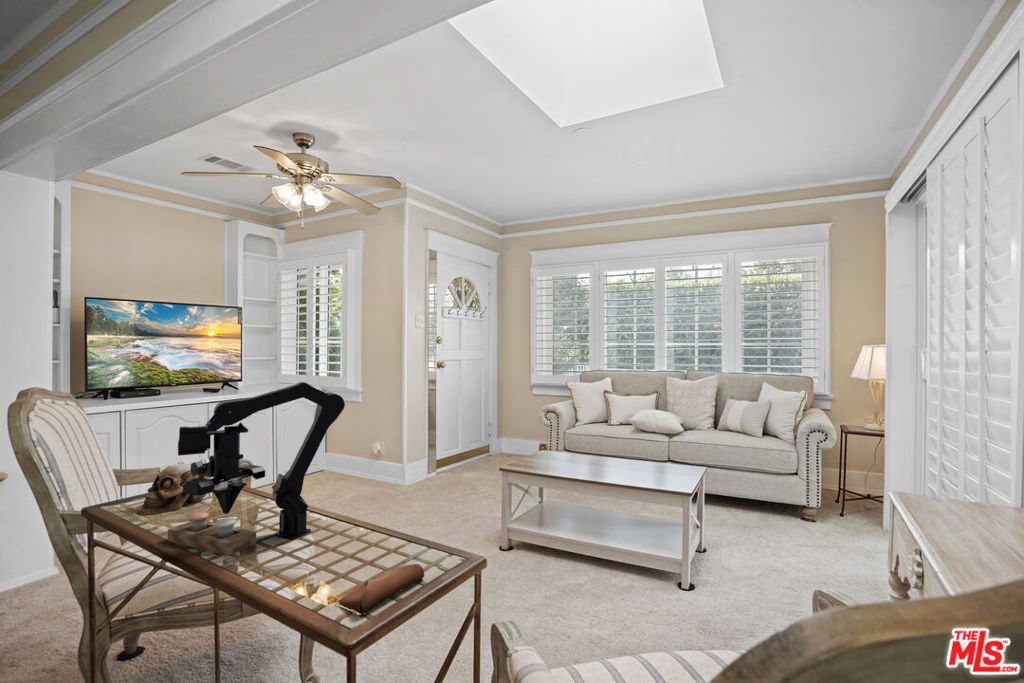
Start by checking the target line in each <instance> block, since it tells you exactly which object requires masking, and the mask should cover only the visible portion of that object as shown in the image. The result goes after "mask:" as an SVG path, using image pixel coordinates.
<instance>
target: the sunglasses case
mask: <svg viewBox="0 0 1024 683" xmlns="http://www.w3.org/2000/svg"><path fill="white" fill-rule="evenodd" d="M423 577H424V578H425V570H424V568H423V566H422V565H420V564H419V563H414V564H413V563H411V564H405V565H401V566H397V567H395V568H391V569H389V570H387V571H385V572H382V573H380V574H377V575H374V576H373V577H371V578H370V579H367V580H366V582H365V583H363V584H362V585H361V586H357V587H356V588H355V589H353V590H352V591H351V592H349V593H347V594H346V595H344V596H343V597H340V599H339V600H337V602H339V603H340V604H341V605H343V606H344V607H347V608H349V609H353V610H355V611H357V612H359V613H361V614H362V616H363V614H364V613H366V614H367V612H368V613H369V612H371V611H372V610H374V609H375V608H377V607H378V606H379V605H381V604H382V603H383V601H384V602H385V601H386V600H388V599H390V598H392V597H393V596H394V595H397V594H398V593H400V592H401V591H403V590H405V589H407V588H409V587H410V586H413V584H415V583H417V582H419V581H421V580H423V579H424V578H423ZM422 578H423V579H422ZM420 579H421V580H420ZM408 586H409V587H408ZM406 587H407V588H406ZM404 588H405V589H404ZM402 589H403V590H402ZM400 590H401V591H400ZM399 591H400V592H399ZM396 593H397V594H396ZM378 604H379V605H378ZM377 605H378V606H377ZM374 607H375V608H374ZM373 608H374V609H373ZM371 609H372V610H371ZM370 610H371V611H370Z"/></svg>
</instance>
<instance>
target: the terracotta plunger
mask: <svg viewBox="0 0 1024 683" xmlns="http://www.w3.org/2000/svg"><path fill="white" fill-rule="evenodd" d="M208 518H210V514H209V512H205V511H204V512H203V511H202V512H195V513H192V514H190V515H188V522H190V531H192V532H197V531H201V530H204V529H206V528H207V521H208Z"/></svg>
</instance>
